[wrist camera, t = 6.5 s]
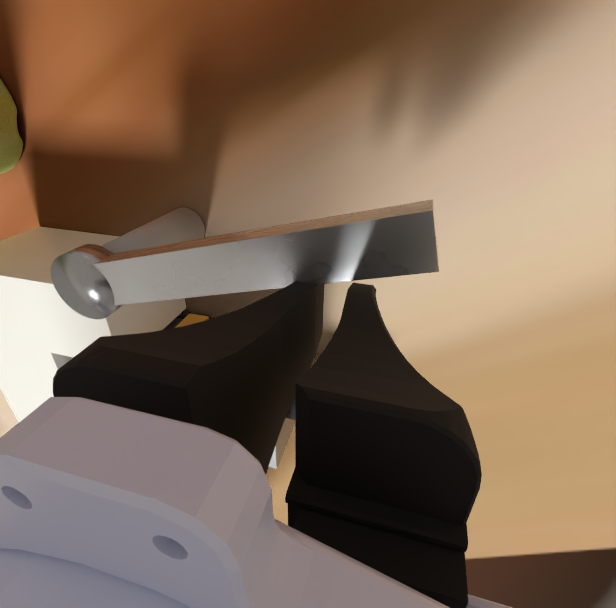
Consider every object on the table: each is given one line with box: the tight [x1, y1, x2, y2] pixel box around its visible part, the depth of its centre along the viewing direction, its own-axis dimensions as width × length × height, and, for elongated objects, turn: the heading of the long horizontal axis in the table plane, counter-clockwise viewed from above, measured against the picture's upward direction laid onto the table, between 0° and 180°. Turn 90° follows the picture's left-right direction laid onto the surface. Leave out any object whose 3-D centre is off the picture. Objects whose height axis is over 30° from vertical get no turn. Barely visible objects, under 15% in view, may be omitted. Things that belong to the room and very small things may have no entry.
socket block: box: [0, 207, 205, 422], centre depth 21 cm, size 16×11×6 cm
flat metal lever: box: [51, 200, 439, 319], centre depth 12 cm, size 13×3×1 cm, turn 104°
